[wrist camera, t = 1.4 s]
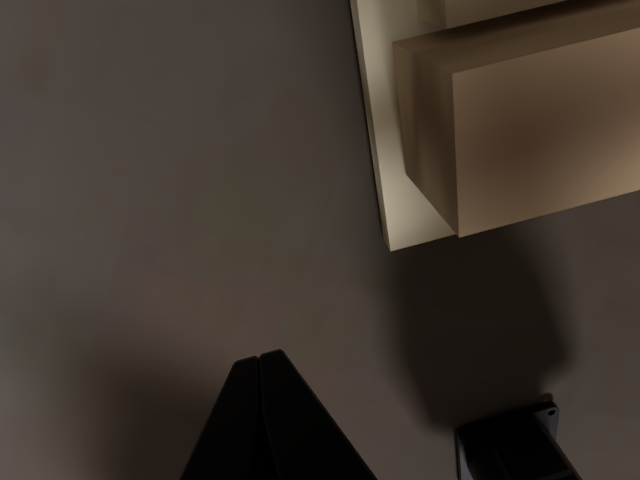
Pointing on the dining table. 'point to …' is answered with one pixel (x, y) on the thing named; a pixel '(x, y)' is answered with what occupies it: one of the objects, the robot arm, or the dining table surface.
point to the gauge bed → (383, 107)
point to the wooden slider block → (523, 112)
